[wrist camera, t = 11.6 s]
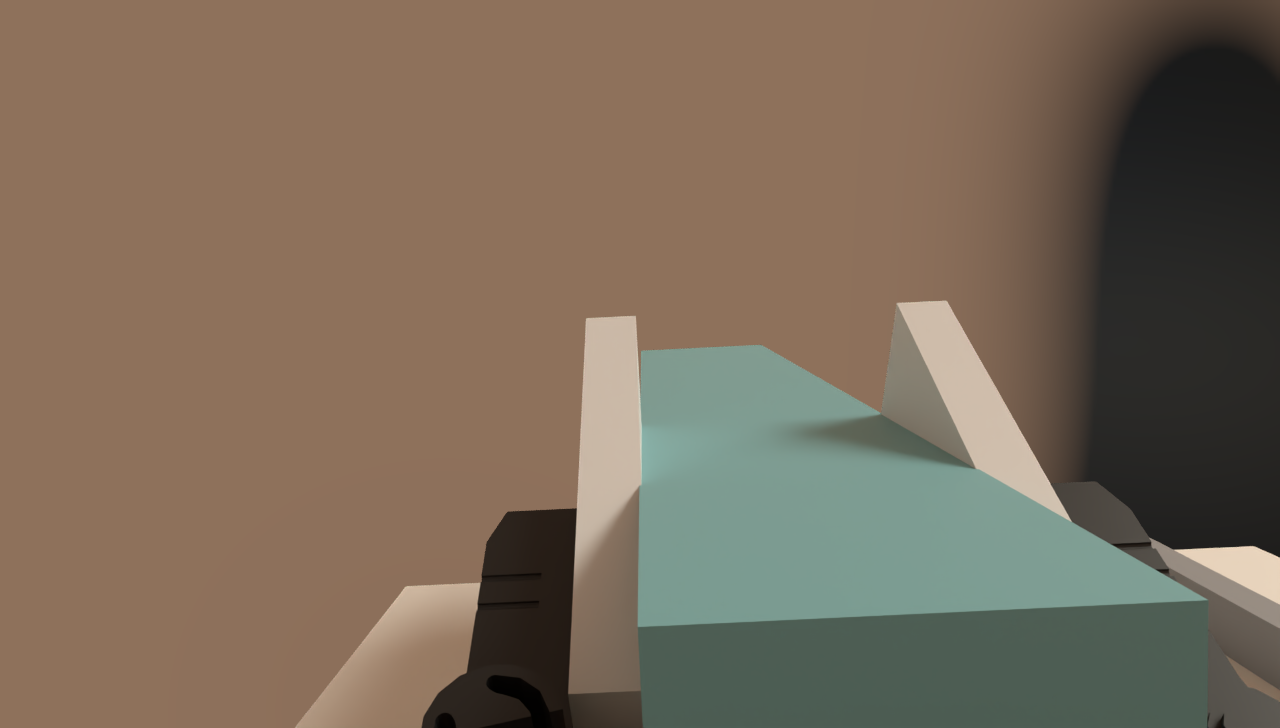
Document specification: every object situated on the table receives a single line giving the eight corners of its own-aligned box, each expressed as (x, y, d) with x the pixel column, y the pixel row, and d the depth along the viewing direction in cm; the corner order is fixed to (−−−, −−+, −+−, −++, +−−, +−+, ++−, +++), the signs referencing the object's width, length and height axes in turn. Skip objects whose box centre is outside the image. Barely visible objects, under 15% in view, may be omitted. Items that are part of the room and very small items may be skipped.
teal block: (1203, 1123, 7) (1207, 599, 6) (664, 1145, 7) (638, 626, 6) (765, 463, 31) (761, 345, 30) (647, 468, 31) (641, 350, 30)
